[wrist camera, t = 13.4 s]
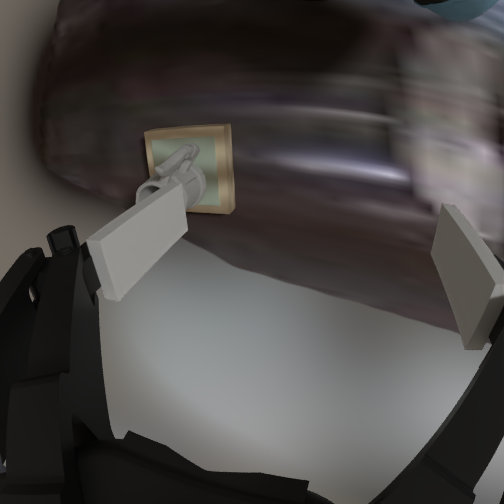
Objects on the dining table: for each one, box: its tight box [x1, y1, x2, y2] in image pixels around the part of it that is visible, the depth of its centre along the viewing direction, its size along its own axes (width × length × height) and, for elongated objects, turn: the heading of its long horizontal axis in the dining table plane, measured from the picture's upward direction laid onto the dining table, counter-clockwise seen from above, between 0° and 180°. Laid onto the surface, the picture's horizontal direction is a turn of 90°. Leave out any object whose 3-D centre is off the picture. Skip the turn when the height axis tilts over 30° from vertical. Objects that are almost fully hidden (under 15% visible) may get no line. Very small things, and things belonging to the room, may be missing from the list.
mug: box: [136, 143, 207, 211], centre depth 41 cm, size 8×12×12 cm, turn 153°
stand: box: [144, 124, 236, 214], centre depth 48 cm, size 14×14×3 cm
